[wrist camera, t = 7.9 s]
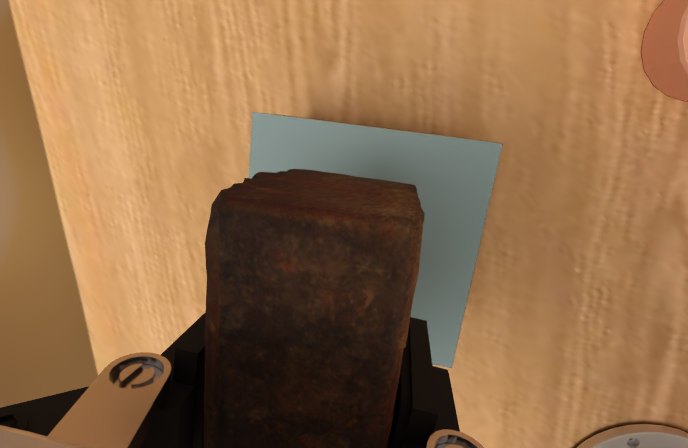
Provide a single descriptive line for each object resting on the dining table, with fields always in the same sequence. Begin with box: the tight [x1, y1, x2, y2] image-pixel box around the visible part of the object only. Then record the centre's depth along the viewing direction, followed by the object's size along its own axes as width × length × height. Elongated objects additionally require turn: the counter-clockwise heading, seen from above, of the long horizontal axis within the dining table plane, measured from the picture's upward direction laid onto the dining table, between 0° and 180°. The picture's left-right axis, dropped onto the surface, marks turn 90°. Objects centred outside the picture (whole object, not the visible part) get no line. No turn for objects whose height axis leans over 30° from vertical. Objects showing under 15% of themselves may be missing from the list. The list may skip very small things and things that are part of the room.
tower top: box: [249, 112, 503, 368], centre depth 22 cm, size 12×12×5 cm
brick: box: [204, 169, 425, 448], centre depth 10 cm, size 11×4×5 cm, turn 173°
